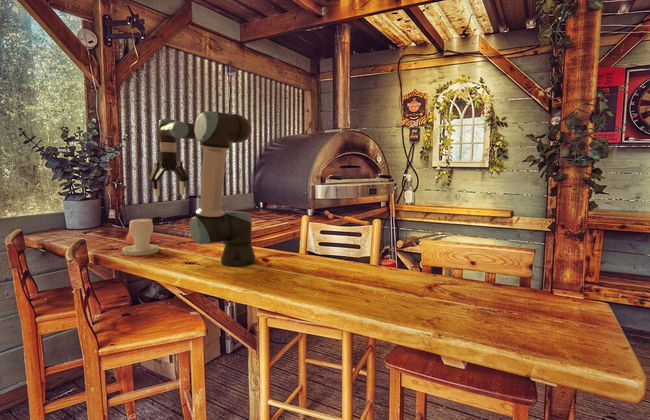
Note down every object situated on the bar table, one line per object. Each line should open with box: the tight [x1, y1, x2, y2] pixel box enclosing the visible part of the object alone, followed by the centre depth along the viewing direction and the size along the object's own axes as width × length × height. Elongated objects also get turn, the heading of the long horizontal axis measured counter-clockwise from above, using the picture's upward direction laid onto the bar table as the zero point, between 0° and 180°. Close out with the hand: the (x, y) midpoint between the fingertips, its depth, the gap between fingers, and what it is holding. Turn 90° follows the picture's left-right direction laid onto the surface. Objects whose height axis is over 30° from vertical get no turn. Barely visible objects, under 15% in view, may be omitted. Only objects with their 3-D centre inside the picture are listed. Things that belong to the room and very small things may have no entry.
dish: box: [121, 243, 160, 257], centre depth 192 cm, size 16×16×2 cm
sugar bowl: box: [125, 230, 155, 246], centre depth 209 cm, size 12×14×10 cm
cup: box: [128, 218, 154, 251], centre depth 192 cm, size 11×11×15 cm
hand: (170, 195), depth 193 cm, fingers open, 13 cm apart
